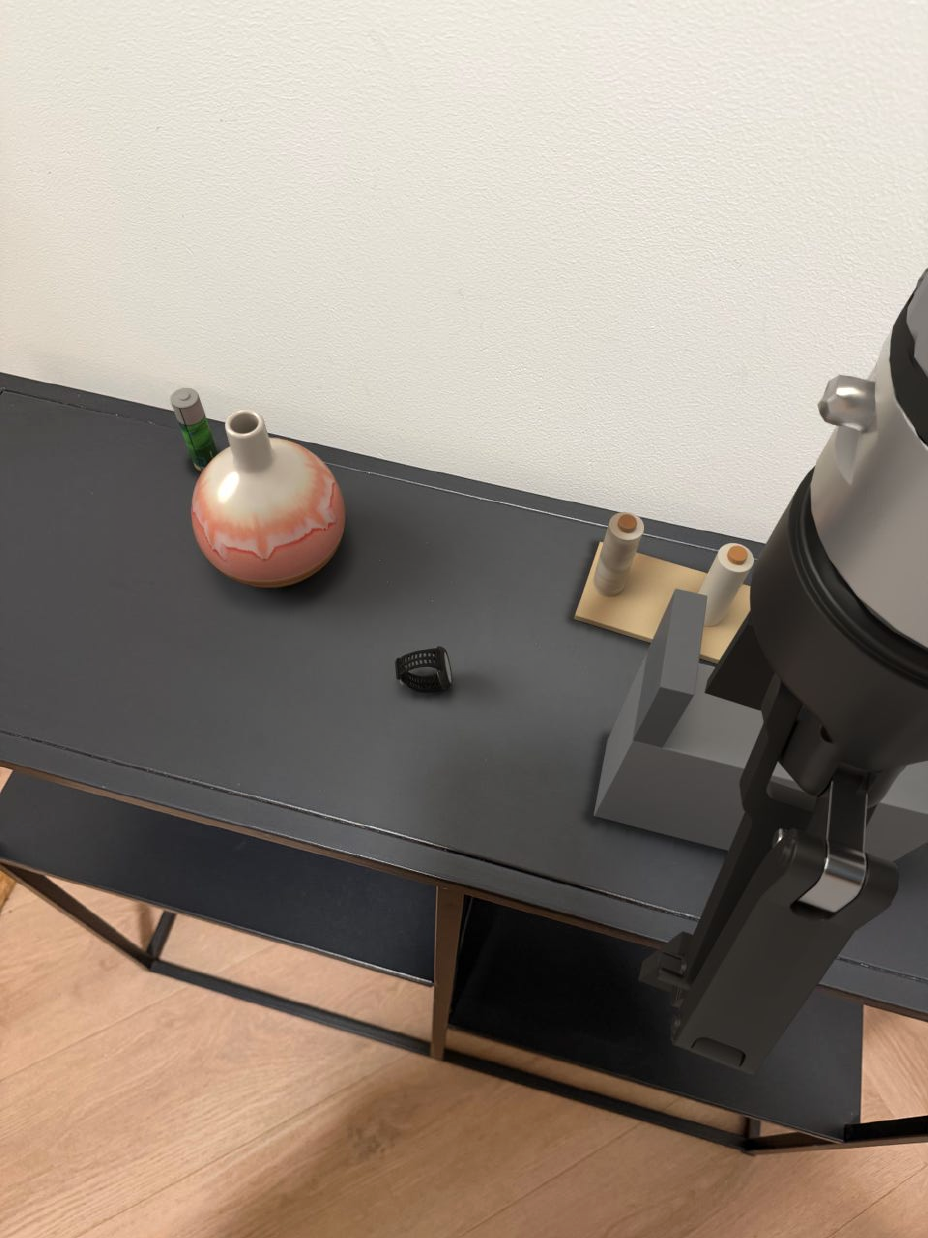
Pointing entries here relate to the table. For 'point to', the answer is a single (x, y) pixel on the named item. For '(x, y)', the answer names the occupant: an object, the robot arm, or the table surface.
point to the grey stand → (712, 752)
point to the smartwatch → (440, 665)
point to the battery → (194, 426)
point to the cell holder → (647, 590)
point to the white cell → (725, 580)
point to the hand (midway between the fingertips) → (705, 826)
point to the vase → (266, 507)
